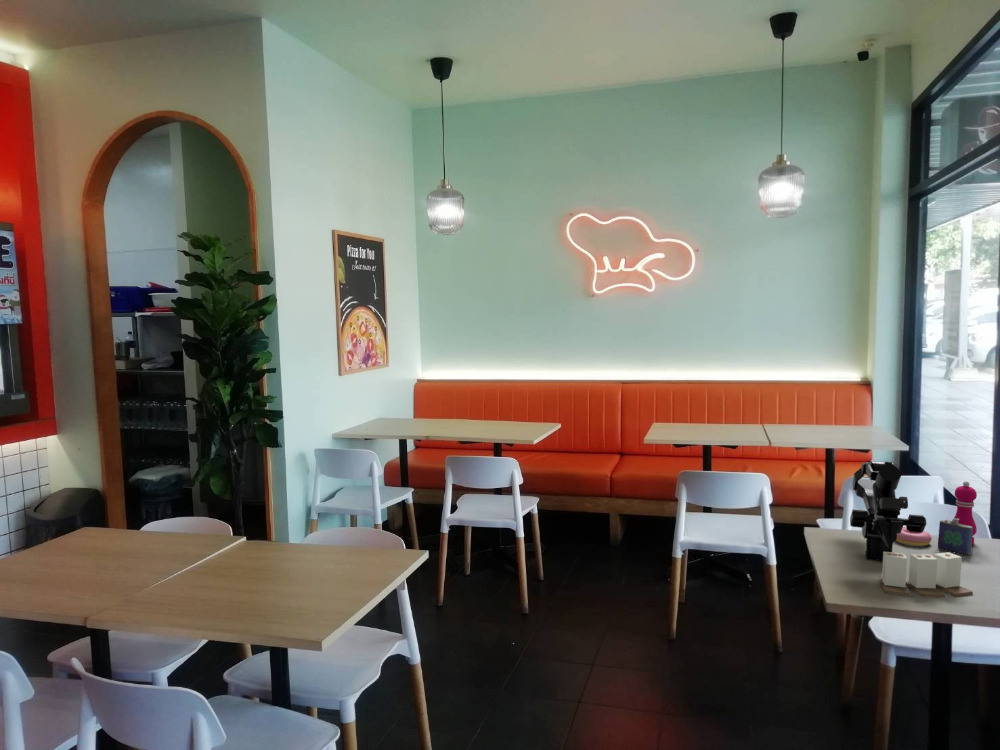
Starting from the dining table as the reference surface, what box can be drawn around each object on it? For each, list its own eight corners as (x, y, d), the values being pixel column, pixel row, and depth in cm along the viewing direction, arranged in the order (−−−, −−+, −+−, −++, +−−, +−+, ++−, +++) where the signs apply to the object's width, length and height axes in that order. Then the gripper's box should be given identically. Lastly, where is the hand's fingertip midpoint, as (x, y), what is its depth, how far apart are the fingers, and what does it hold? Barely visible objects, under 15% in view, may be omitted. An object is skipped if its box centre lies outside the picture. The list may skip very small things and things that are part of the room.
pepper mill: (944, 539, 232) (948, 479, 230) (958, 537, 235) (962, 477, 233) (966, 546, 226) (970, 485, 224) (980, 543, 229) (985, 482, 227)
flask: (972, 554, 219) (974, 520, 218) (968, 556, 217) (970, 522, 216) (939, 546, 226) (941, 513, 225) (935, 548, 224) (937, 515, 223)
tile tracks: (881, 592, 190) (881, 589, 189) (877, 572, 204) (877, 570, 203) (979, 607, 180) (979, 604, 180) (968, 585, 194) (968, 582, 194)
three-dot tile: (881, 579, 196) (883, 550, 195) (902, 581, 194) (904, 552, 194) (884, 585, 192) (886, 555, 191) (905, 587, 191) (907, 557, 190)
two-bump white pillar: (908, 582, 194) (910, 553, 193) (927, 582, 194) (928, 553, 193) (916, 588, 190) (918, 558, 189) (935, 588, 190) (937, 558, 189)
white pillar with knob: (932, 582, 194) (934, 553, 193) (946, 580, 195) (948, 551, 195) (945, 587, 190) (946, 558, 190) (959, 585, 192) (961, 556, 191)
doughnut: (892, 535, 238) (893, 522, 238) (931, 540, 232) (931, 528, 232) (891, 544, 229) (892, 531, 228) (931, 550, 223) (932, 537, 223)
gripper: (853, 482, 205) (857, 531, 196) (926, 487, 199) (934, 538, 190) (848, 501, 214) (851, 549, 204) (918, 507, 208) (925, 556, 198)
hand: (890, 548), depth 199 cm, fingers closed
